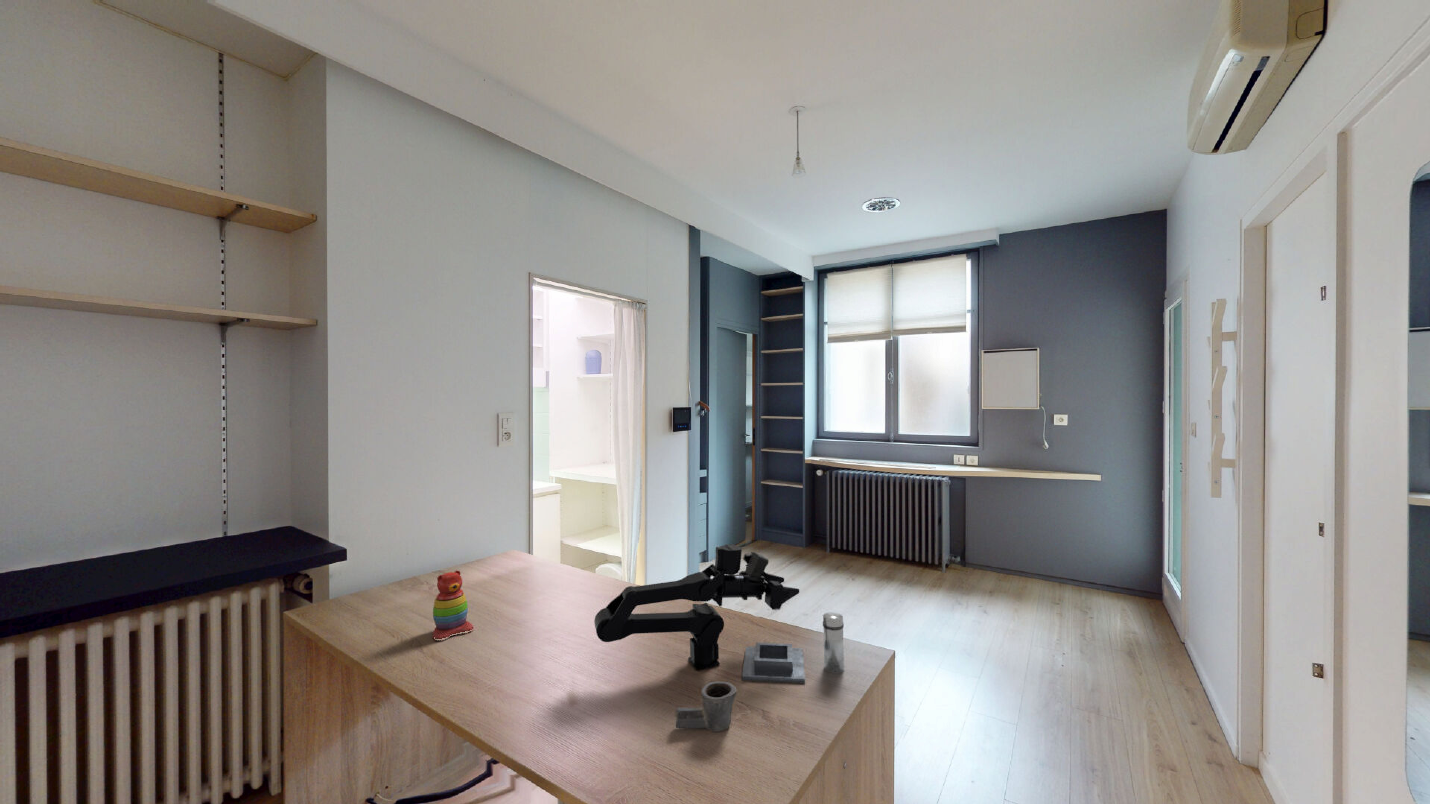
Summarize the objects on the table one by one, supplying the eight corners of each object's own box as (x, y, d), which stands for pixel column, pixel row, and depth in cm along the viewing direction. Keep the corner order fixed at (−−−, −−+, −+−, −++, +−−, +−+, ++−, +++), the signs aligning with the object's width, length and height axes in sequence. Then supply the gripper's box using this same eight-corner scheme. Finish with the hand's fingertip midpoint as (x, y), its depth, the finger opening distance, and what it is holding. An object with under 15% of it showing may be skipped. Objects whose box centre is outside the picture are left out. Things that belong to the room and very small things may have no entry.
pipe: (675, 721, 111) (675, 684, 111) (735, 717, 112) (734, 680, 112) (676, 740, 105) (675, 701, 104) (739, 735, 106) (738, 696, 106)
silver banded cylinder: (831, 675, 127) (830, 622, 127) (819, 665, 132) (818, 614, 132) (848, 670, 129) (847, 618, 129) (836, 661, 134) (835, 610, 134)
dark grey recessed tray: (742, 680, 126) (741, 666, 126) (746, 650, 141) (746, 637, 141) (805, 683, 124) (804, 668, 124) (802, 652, 139) (802, 639, 139)
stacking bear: (436, 643, 150) (434, 581, 149) (427, 632, 157) (425, 573, 157) (475, 631, 157) (473, 572, 156) (465, 621, 164) (463, 564, 164)
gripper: (753, 566, 129) (810, 566, 134) (728, 546, 147) (779, 546, 151) (749, 611, 128) (806, 609, 133) (725, 585, 146) (776, 585, 151)
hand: (791, 585), depth 142 cm, fingers open, 9 cm apart
